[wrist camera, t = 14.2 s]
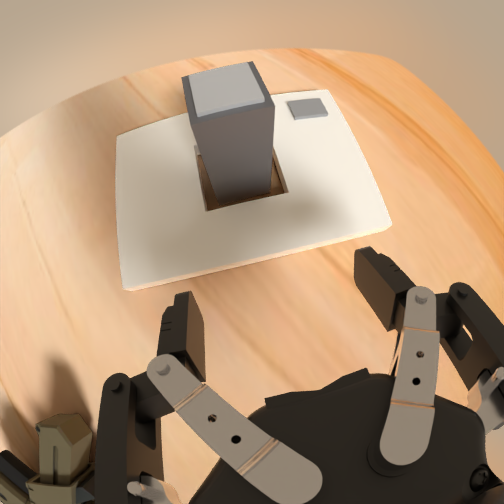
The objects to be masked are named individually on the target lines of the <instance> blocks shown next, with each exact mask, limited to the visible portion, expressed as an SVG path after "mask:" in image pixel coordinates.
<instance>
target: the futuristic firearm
mask: <svg viewBox="0 0 504 504" xmlns="http://www.w3.org/2000/svg"><path fill="white" fill-rule="evenodd" d="M35 429H36V431H37V433H38V435H39V466H40V473H39V474H37V473H35V472H34V471H33V470H31V469H30V468H29V467H28V466H26V465H25V464H24V463H23V462H21V461H20V460H19V459H18V458H17V457H15V456H14V455H13V454H12V453H11V452H10V451H9V450H4V451H2V452H1V453H0V501H1V502H2V503H3V504H95V502H94V500H95V497H94V479H95V462H91V463H89V456H90V448H91V440H92V431H91V430H90V428H89V427H88V426H87V424H86V423H85V421H84V420H83V419H82V417H81V416H80V414H58V415H55V416H53V417H51V418H48V419H46V420H44V421H42V422H39V423H37V424H36V428H35Z"/></svg>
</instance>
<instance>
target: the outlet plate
mask: <svg viewBox="0 0 504 504" xmlns="http://www.w3.org/2000/svg"><path fill="white" fill-rule="evenodd" d="M270 96H271V98H272V100H273V102H274V104H275V120H274V138H273V154H272V156H273V159H274V162H275V165H276V168H277V171H278V174H279V177H280V180H281V183H282V186H283V190H284V193H285V194H280V195H275V196H271V197H266V198H262V199H257V200H253V201H248V202H244V203H240V204H235V205H231V206H227V207H223V208H219V209H215V210H211V211H208V210H207V205H206V200H205V194H204V189H203V183H202V178H201V172H200V167H199V161H198V155H201V154H200V151H199V148H198V145H197V143H196V140H195V137H194V134H193V131H192V128H191V126H190V121H189V115H188V113H184V114H180V115H177V116H173V117H170V118H167V119H164V120H160V121H157V122H154V123H151V124H148V125H145V126H142V127H139V128H137V129H134V130H131V131H128V132H126V133H123V134H121V135H118V136H117V142H116V170H115V195H116V223H117V239H118V251H119V261H120V270H121V279H122V286H123V289H125V290H129V291H135V290H140V289H144V288H149V287H153V286H158V285H162V284H166V283H171V282H175V281H179V280H184V279H188V278H192V277H197V276H201V275H205V274H209V273H214V272H218V271H222V270H226V269H231V268H235V267H239V266H243V265H248V264H252V263H256V262H260V261H264V260H268V259H273V258H277V257H281V256H285V255H289V254H293V253H297V252H301V251H305V250H309V249H313V248H317V247H322V246H326V245H330V244H334V243H338V242H342V241H346V240H350V239H354V238H358V237H361V236H365V235H369V234H373V233H377V232H381V231H385V230H386V229H387V228H389V227H390V226H391V225H392V222H391V219H390V216H389V214H388V211H387V208H386V206H385V203H384V201H383V198H382V196H381V193H380V191H379V189H378V186H377V184H376V181H375V179H374V177H373V175H372V172H371V170H370V168H369V166H368V164H367V161H366V159H365V157H364V155H363V153H362V151H361V149H360V147H359V145H358V143H357V141H356V139H355V137H354V135H353V133H352V131H351V129H350V127H349V126H348V124H347V122H346V120H345V118H344V116H343V115H342V113H341V111H340V109H339V108H338V106H337V104H336V102H335V101H334V99H333V97H332V96H331V94H330V92H329V91H328V90H313V91H302V92H292V93H284V94H276V95H270Z"/></svg>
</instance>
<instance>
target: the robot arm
mask: <svg viewBox="0 0 504 504" xmlns="http://www.w3.org/2000/svg"><path fill="white" fill-rule="evenodd" d="M354 280H355V283H356V286H357V287H358V289H359V290H360V292H361V293H362V295H363V296H364V297H365V299H366V300H367V302H368V303H369V305H370V306H371V308H372V309H373V311H374V312H375V314H376V315H377V316H378V318H379V319H380V321H381V322H382V324H383V326H384V327H385V329H386V330H387V332H388V331H391V330H393V329H396V330H397V332H398V333H397V336H396V342H395V347H394V353H393V358H392V362H391V367H390V370H389V374H388V375H387V374H379V373H376V374H369V372H368V370H367V368H364V369H361V370H359V371H356V372H353V373H350V374H348V375H345V376H342V377H341V378H339V379H338V380H336V381H334V382H333V383H331V384H329V385H328V386H326V387H324V388H322V389H320V390H316V391H301V392H289V393H285V394H281V395H277V396H273V397H268V398H265V403H266V405H265V406H263V407H261V408H259V409H258V410H256V411H255V412H253V413H252V414H251V415H250V416H249V417H248V418H246V417H244V416H243V415H242V414H240V413H239V412H238V411H237V410H236V409H234V408H233V407H232V406H231V405H230V404H228V403H227V402H226V401H225V400H224V399H222V398H221V397H220V396H219V395H218V394H217V393H216V392H214V391H213V390H212V389H211V388H210V387H209V386H207V385H206V384H204V385H203V384H202V383H201V382H206V375H205V345H204V322H203V318H202V315H201V312H200V310H199V308H198V305H197V303H196V301H195V298H194V296H193V294H192V292H191V291H188V292H183V293H179V294H176V295H175V299H174V306H169V307H167V309H166V310H165V312H164V313H163V315H162V321H161V328H160V335H159V342H158V350H157V357H155V358H154V359H153V360H152V361H151V362H150V363H149V365H148V367H147V371H145V372H144V373H141V374H139V375H137V376H134V377H132V378H129V377H128V376H127V375H126V374H123V373H116V374H113V375H112V376H110V377H109V378H108V379H107V380H106V381H105V383H104V385H103V390H102V397H101V404H100V411H99V420H98V429H97V440H96V454H95V479H94V497H95V504H182V503H181V501H180V500H179V497H178V494H177V492H176V490H175V488H174V487H173V486H171V485H170V484H168V483H166V482H164V473H163V460H162V442H161V417H162V416H165V415H167V414H169V413H172V412H174V411H176V412H177V413H178V414H179V415H180V417H181V418H182V419H183V420H184V421H185V422H186V423H187V424H188V425H189V426H190V427H191V428H192V429H193V430H194V432H195V433H196V434H197V435H198V436H199V437H200V438H201V439H202V440H203V441H204V442H205V443H206V444H207V445H208V446H209V447H211V448H212V449H213V450H214V451H215V452H216V453H217V454H218V455H219V456H220V459H219V460H218V462H217V463H216V465H215V466H214V468H213V469H212V471H211V472H210V474H209V475H208V476H207V478H206V479H205V481H204V482H203V483H202V485H201V486H200V488H199V489H198V490H197V492H196V493H195V494H194V496H193V497H192V499H191V500H190V502H189V504H504V482H502V481H501V480H500V479H499V478H498V477H497V476H496V475H495V474H494V473H493V472H492V471H491V469H490V468H489V466H488V464H487V459H486V452H485V435H486V434H488V433H489V432H490V431H491V430H496V429H499V428H500V427H501V426H503V425H504V325H503V324H502V323H501V322H500V320H499V319H498V318H497V317H496V315H495V314H494V313H493V312H492V311H491V309H490V308H489V307H488V306H487V305H486V303H485V302H484V301H483V300H482V299H481V298H480V296H479V295H478V294H477V293H476V292H475V291H474V290H473V289H472V288H471V287H470V286H469V285H467V284H465V283H461V282H457V283H454V284H452V285H451V286H450V289H449V292H448V293H440V294H434V293H433V291H431V290H430V289H428V288H426V287H422V286H416V285H415V284H414V283H413V282H412V281H411V280H410V279H409V277H408V276H407V275H406V274H405V273H404V272H403V271H402V270H400V268H399V267H398V266H397V265H396V264H395V263H394V262H393V261H392V260H391V259H390V258H389V257H387V256H385V255H383V254H381V253H380V254H377V253H376V252H375V251H374V249H373V248H372V247H370V246H368V247H365V248H361V249H357V250H355V254H354ZM463 324H464V325H465V327H466V328H467V329H468V331H469V332H470V333H471V335H472V339H473V341H472V340H471V338H470V337H469V335H468V334H467V333H466V331H465V330H464V329H463ZM439 342H440V344H441V345H442V347H443V348H444V350H445V352H446V353H447V355H448V356H449V358H450V360H451V361H452V363H453V365H454V366H455V368H456V370H457V371H458V373H459V375H460V377H461V378H462V380H463V382H464V384H465V385H466V387H467V389H468V391H469V393H468V405H467V407H465V406H462V405H460V404H457V403H455V402H452V401H450V400H448V399H445V398H443V397H440V396H438V395H436V394H435V389H436V381H437V371H438V359H439Z"/></svg>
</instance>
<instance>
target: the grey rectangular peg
mask: <svg viewBox="0 0 504 504" xmlns="http://www.w3.org/2000/svg"><path fill="white" fill-rule="evenodd" d="M182 83H183V88H184V94H185V99H186V105H187V110H188V115H189V121H190V126H191V128H192V131H193V134H194V137H195V140H196V143H197V145H198V148H199V151H200V154H201V157H202V160H203V162H204V165H205V168H206V171H207V174H208V176H209V179H210V182H211V185H212V187H213V190H214V193H215V196H216V198H217V201H218V204H219V206H220V205H224V204H228V203H231V202H235V201H239V200H243V199H247V198H251V197H254V196H258V195H262V194H267V193H270V186H271V171H272V154H273V138H274V120H275V104H274V102H273V100H272V98H271V96H270V94H269V92H268V90H267V88H266V86H265V84H264V82H263V80H262V78H261V76H260V74H259V72H258V70H257V69H256V67H255V65H254V63H253V61H252V62H246V63H240V64H235V65H230V66H225V67H220V68H216V69H211V70H207V71H203V72H199V73H195V74H192V75H188V76H185V77H182Z"/></svg>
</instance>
